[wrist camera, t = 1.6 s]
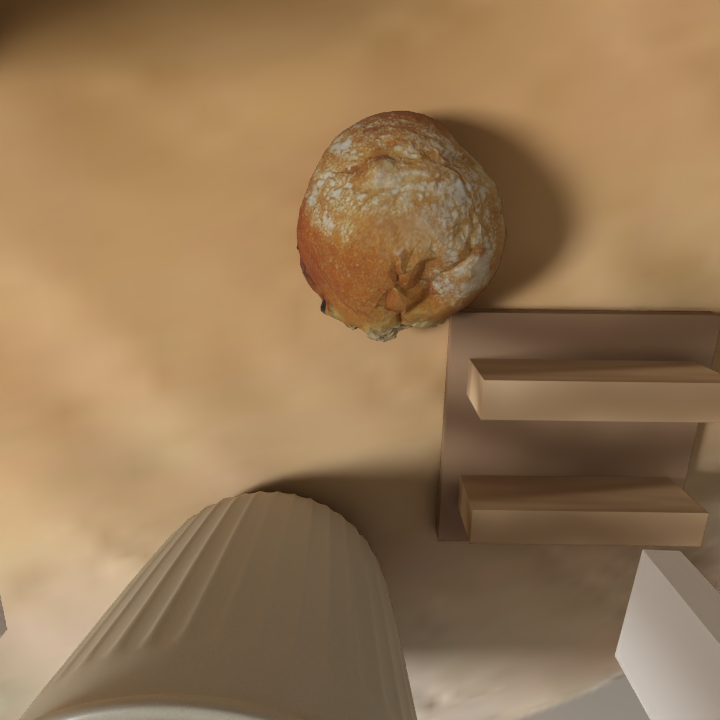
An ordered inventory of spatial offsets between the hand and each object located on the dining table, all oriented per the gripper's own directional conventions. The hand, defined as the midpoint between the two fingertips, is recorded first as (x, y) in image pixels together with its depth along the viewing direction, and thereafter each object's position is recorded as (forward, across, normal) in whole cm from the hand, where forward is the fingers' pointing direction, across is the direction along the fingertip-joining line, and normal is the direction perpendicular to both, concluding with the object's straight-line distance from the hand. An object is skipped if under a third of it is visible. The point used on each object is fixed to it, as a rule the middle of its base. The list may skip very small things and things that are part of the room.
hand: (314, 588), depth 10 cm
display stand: (+18, +13, -4) cm, 23 cm away
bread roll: (+19, +2, +6) cm, 20 cm away
